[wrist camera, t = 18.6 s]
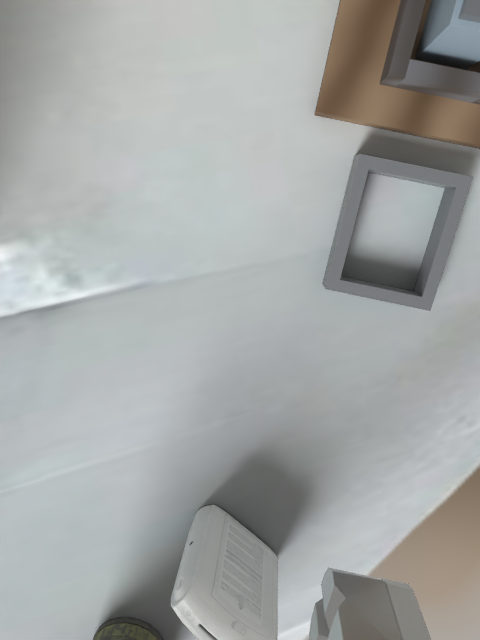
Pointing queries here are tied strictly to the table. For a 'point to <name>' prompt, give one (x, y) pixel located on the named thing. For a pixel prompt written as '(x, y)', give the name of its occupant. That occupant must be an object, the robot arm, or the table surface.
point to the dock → (396, 76)
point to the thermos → (126, 630)
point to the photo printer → (226, 581)
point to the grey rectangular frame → (436, 246)
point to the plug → (451, 33)
